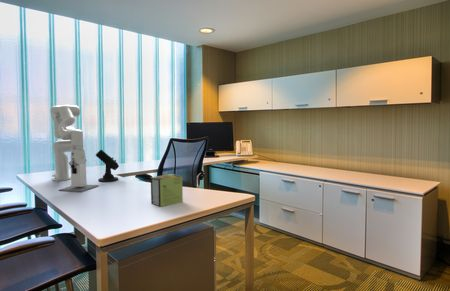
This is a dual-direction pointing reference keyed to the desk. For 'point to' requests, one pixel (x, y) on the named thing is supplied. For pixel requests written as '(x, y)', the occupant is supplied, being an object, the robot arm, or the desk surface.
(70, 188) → the rubber mat
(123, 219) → the desk surface
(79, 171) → the milk carton
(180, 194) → the protein box
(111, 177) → the microphone
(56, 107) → the robot arm
